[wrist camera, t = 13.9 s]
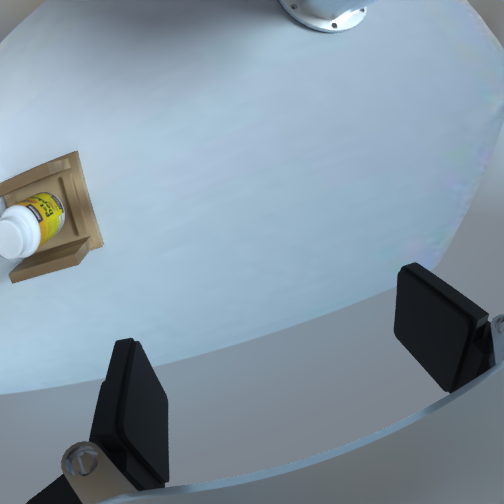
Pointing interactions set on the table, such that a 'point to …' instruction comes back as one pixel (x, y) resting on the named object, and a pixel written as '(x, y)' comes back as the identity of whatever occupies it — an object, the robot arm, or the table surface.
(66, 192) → the holder
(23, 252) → the supplement bottle
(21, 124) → the table surface
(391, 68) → the table surface
